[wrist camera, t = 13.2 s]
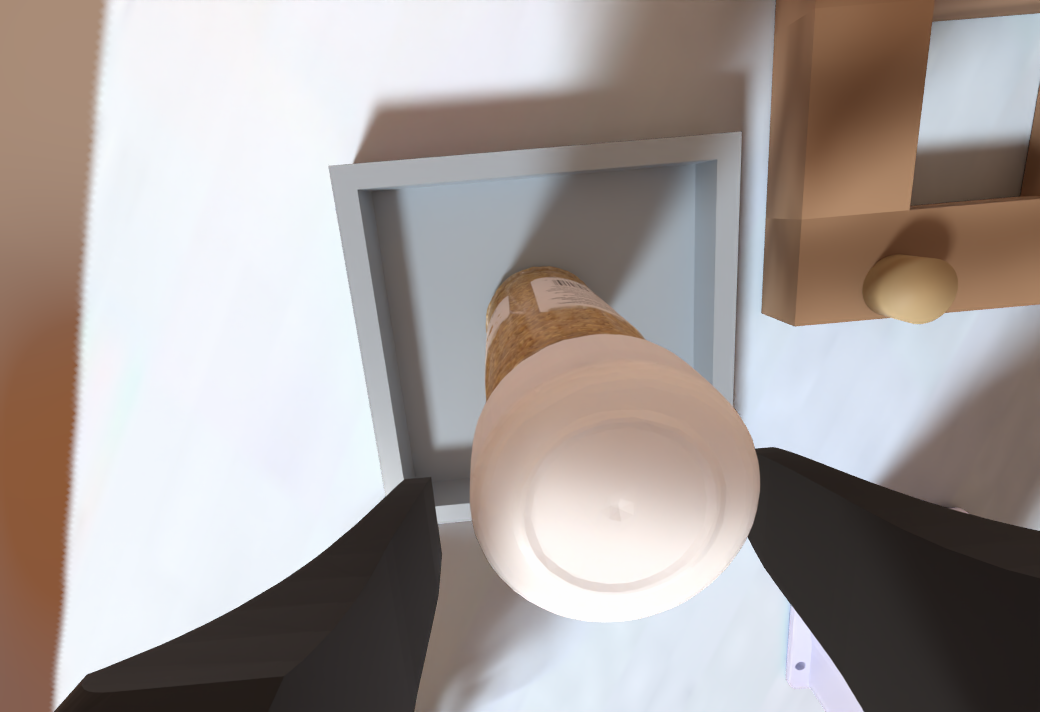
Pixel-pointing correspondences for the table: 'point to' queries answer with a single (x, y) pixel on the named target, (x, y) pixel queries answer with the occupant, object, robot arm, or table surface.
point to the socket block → (879, 175)
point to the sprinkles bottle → (601, 459)
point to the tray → (521, 245)
